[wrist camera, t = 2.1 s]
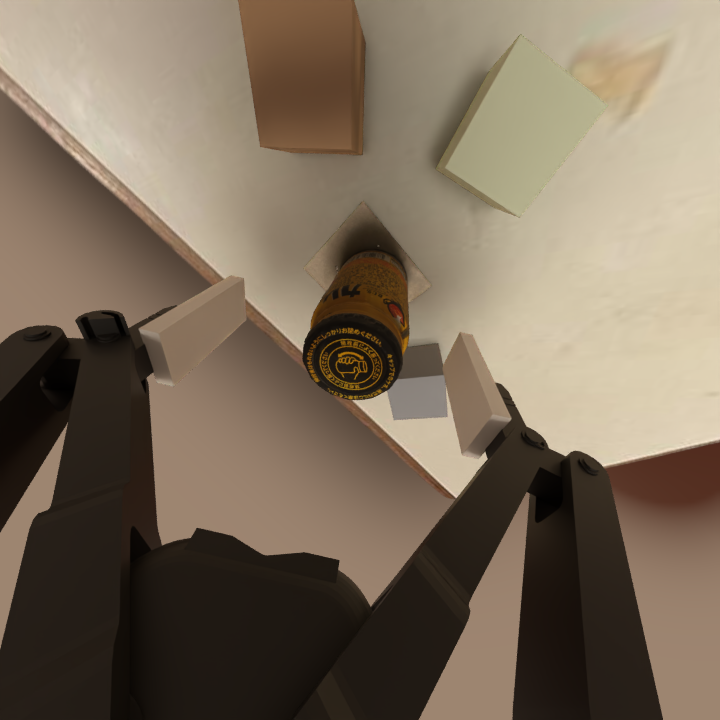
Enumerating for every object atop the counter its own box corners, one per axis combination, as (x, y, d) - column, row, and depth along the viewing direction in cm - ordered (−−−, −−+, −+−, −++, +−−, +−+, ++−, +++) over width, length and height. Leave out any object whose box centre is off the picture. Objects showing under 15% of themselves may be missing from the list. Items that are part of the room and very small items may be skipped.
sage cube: (488, 71, 15) (520, 33, 11) (555, 122, 16) (608, 105, 12) (435, 168, 18) (445, 167, 14) (494, 207, 19) (519, 217, 14)
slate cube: (387, 349, 27) (384, 380, 23) (438, 343, 25) (444, 374, 21) (394, 386, 29) (393, 419, 25) (441, 382, 28) (447, 416, 24)
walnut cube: (281, 43, 15) (237, -3, 11) (365, 43, 15) (352, -6, 11) (291, 152, 18) (260, 146, 14) (362, 154, 18) (351, 149, 14)
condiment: (369, 332, 26) (349, 428, 16) (303, 267, 23) (231, 337, 13) (431, 284, 22) (455, 370, 13) (363, 200, 19) (325, 227, 10)
